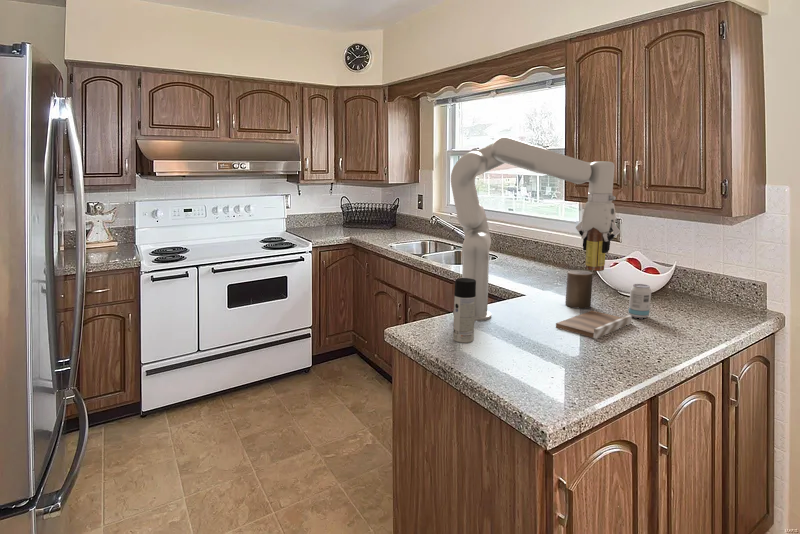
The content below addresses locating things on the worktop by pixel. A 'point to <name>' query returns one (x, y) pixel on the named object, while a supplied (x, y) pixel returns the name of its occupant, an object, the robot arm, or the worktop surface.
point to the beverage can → (639, 301)
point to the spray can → (464, 310)
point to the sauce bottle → (594, 251)
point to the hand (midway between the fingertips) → (595, 250)
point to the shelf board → (594, 323)
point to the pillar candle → (579, 289)
